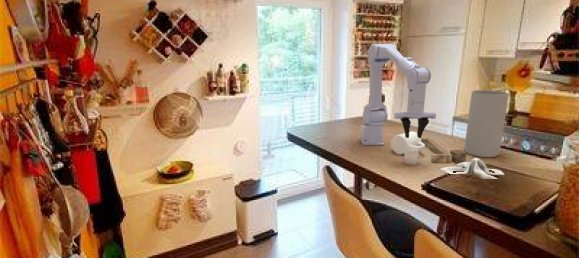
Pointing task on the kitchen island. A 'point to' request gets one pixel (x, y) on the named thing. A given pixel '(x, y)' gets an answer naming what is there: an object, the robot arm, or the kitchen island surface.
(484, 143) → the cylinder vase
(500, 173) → the cloth
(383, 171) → the kitchen island surface
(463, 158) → the walnut block
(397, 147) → the mug
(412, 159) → the small white cylinder
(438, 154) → the dock
